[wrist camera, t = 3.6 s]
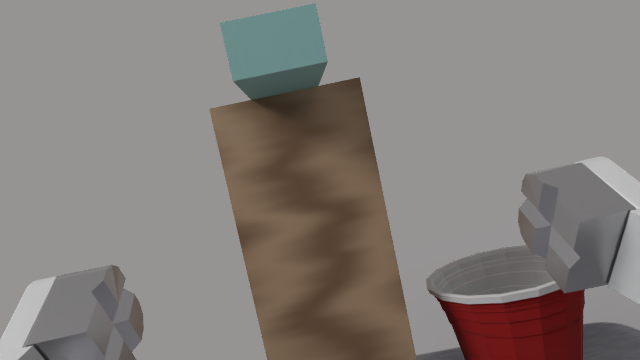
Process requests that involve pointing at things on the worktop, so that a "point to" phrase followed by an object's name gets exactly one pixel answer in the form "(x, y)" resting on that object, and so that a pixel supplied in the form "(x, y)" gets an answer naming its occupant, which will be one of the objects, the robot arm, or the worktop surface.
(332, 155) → the stand
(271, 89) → the block
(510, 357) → the plastic cup
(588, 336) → the worktop surface
